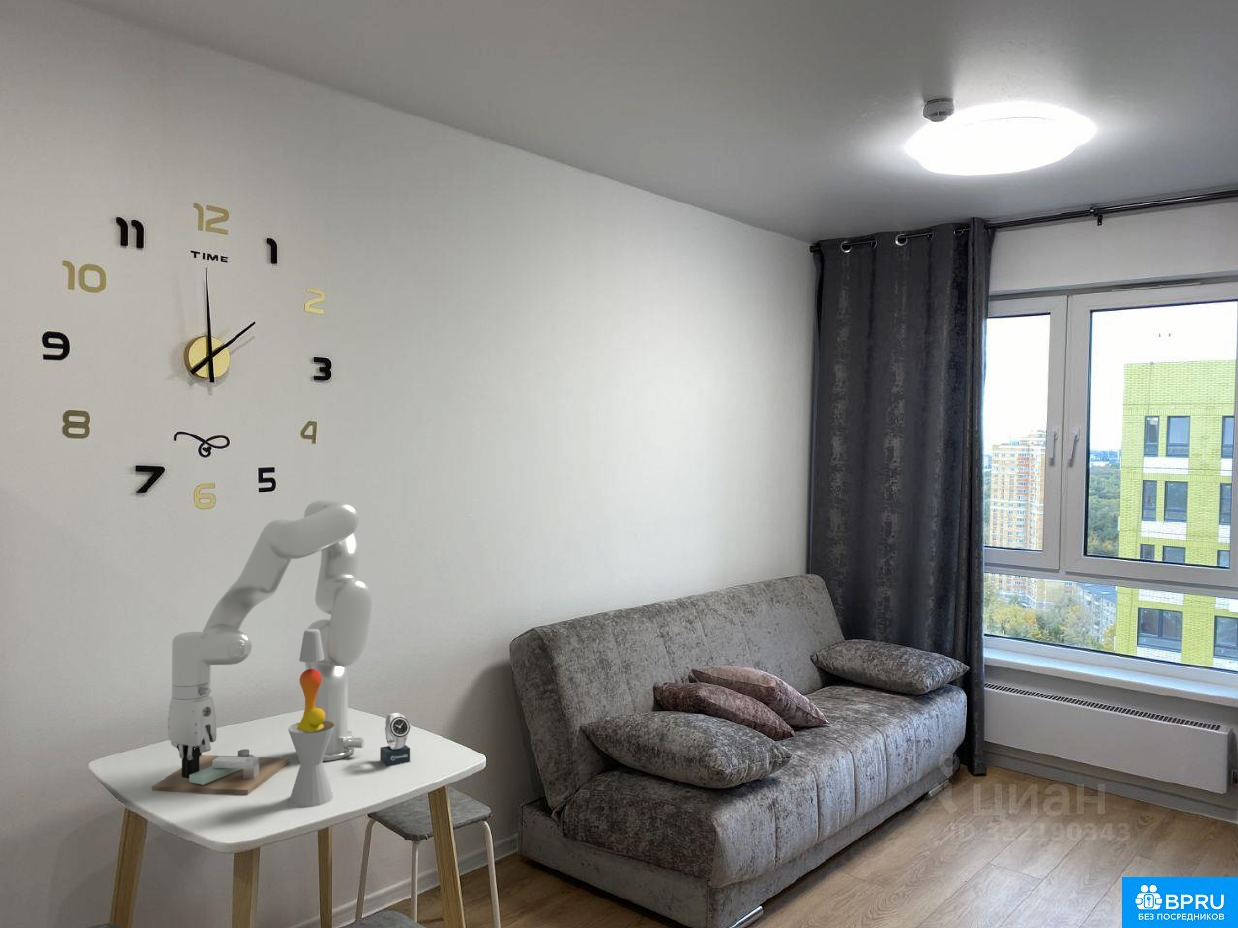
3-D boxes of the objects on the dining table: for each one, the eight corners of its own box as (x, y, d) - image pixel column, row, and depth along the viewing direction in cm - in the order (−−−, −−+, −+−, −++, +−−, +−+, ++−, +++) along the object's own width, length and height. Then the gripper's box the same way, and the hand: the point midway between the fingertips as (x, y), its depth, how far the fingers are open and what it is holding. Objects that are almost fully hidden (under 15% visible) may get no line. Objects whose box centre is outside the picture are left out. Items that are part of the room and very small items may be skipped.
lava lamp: (278, 801, 188) (279, 630, 188) (314, 787, 196) (314, 623, 196) (308, 810, 184) (308, 635, 183) (343, 796, 191) (344, 628, 191)
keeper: (259, 774, 201) (259, 757, 201) (253, 779, 198) (253, 761, 198) (219, 772, 202) (219, 756, 202) (212, 777, 199) (212, 760, 199)
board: (289, 762, 212) (289, 743, 212) (248, 794, 192) (248, 773, 192) (201, 759, 213) (201, 740, 213) (151, 790, 193) (151, 770, 193)
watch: (390, 768, 208) (390, 720, 208) (377, 758, 215) (377, 711, 215) (413, 763, 211) (413, 716, 211) (400, 754, 218) (400, 708, 218)
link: (243, 759, 209) (243, 753, 209) (258, 762, 208) (258, 755, 208) (188, 781, 195) (188, 774, 195) (203, 784, 194) (203, 777, 194)
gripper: (230, 690, 197) (229, 776, 198) (181, 682, 204) (181, 765, 204) (201, 699, 191) (200, 787, 191) (151, 690, 197) (151, 775, 197)
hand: (190, 775), depth 197 cm, fingers closed
